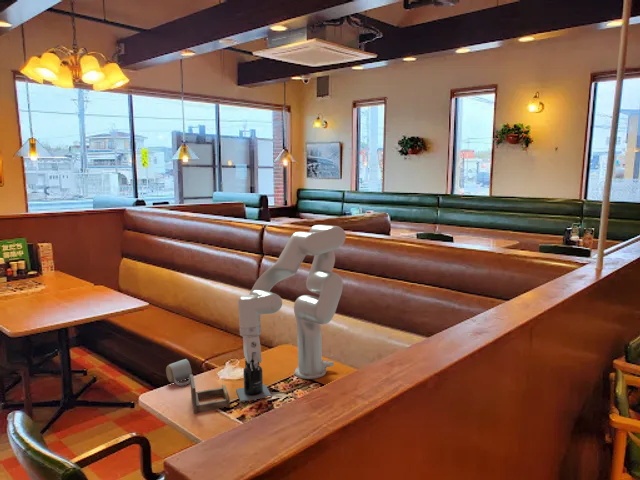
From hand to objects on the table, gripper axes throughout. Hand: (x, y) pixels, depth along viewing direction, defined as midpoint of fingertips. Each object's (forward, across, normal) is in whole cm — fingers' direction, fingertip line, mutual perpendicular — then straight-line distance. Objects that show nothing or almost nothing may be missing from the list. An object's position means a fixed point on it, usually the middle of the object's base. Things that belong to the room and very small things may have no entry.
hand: (252, 375), depth 171 cm
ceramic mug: (+7, +22, +24) cm, 34 cm away
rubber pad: (+7, 0, 0) cm, 7 cm away
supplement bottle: (+6, 0, 0) cm, 7 cm away
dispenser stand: (+7, -1, +15) cm, 17 cm away
